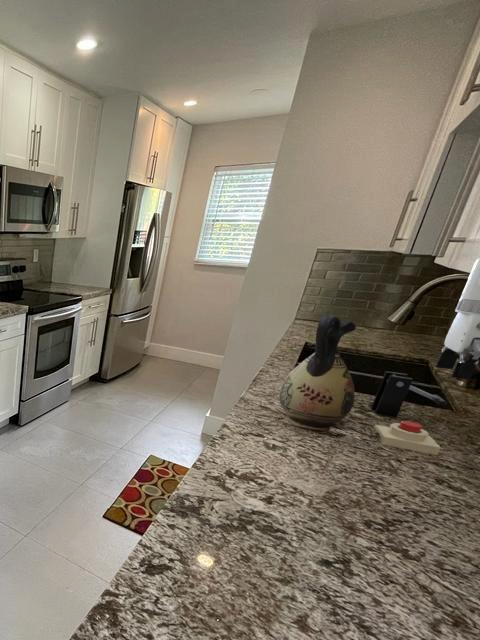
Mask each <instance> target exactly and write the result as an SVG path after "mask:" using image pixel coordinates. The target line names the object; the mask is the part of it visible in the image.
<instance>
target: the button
mask: <svg viewBox="0 0 480 640" xmlns="http://www.w3.org/2000/svg"><path fill="white" fill-rule="evenodd" d="M422 427H423V426H422V425H421V424H420V423H416V422H414V421H411V420H410V421H409V420H401V421H400V426H399V428H400V429H402V430H405V431H408V432H413V433H419V432H420V430H421V429H422Z"/></svg>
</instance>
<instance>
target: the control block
mask: <svg viewBox="0 0 480 640" xmlns="http://www.w3.org/2000/svg"><path fill="white" fill-rule="evenodd" d="M400 423H401V422H400ZM400 423H399V422H393V423H391V424H390V425H389V426H385V425H380V424H374V426H373V428H374V429H375V431H376V432H377V433H378V434H379V435H376V434H375V435H374V436H375V437H376V439H377V440H378V442H379V444H380V445H383V446H384V445H385V446H389V447H394V448H398V449H404V450H409V451H414V452H418V453H423V454H429V455H433V456H438V455H439V453H440V451H441V449H442V448H441V446H440V445H439V444H438V443H437V442H436V441H435V440H434V439H433V437H431V436H430V434H429V432H428V431H427V430H425V429H422V428H421V430H420V432H419V433H413V432H408V431H405V430H402V429H400V428H399V426H400Z"/></svg>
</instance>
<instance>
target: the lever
mask: <svg viewBox="0 0 480 640" xmlns="http://www.w3.org/2000/svg"><path fill="white" fill-rule="evenodd" d="M392 376H396V375H394V374H393V375H392ZM387 382H388V380H387ZM408 391H412V392H414V393H416V394H418V395H420V396H422V397H425V398H427V399H429V400H432V401H433V402H434V403H436V404H437V406H439V407H445V406H446V405H447V401H445V400H444V399H443V398H442V397H440V395H438V394H434V393H433V394H431V393H429V392H426V391H425V390H422V389H420V388H418V387H416V386H413V385H412V384H411V385H410V388H409V390H408Z"/></svg>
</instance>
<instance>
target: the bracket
mask: <svg viewBox="0 0 480 640" xmlns="http://www.w3.org/2000/svg"><path fill="white" fill-rule="evenodd" d="M393 374H394V375H396V376H392V375H393ZM387 380H388V382H387ZM413 381H414V379H413V378H412V377H408V373H401V372H395V371H394V372H393V371H384V374H383V377H382V379H381V381H380V383H379V387H378V389H377V391H376V394H375V396H374V399H373V401H372V404H371V406H370V409H372V410H375V411H374V414H375V415H380V416H386V417H391V418H397V417H398V415H399V413H400V410H401V408H402V406H403V403H404V402H405V399H406V397H407V394H408V392H409V391H410V390H409V388H410V385H411V386H412V383H413Z"/></svg>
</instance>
